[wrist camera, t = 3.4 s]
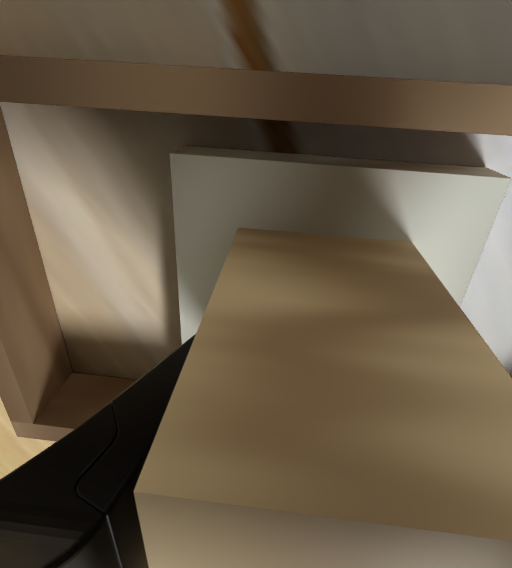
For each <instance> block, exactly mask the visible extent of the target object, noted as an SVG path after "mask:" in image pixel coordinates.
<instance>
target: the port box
mask: <svg viewBox="0 0 512 568" xmlns="http://www.w3.org/2000/svg"><path fill="white" fill-rule="evenodd" d="M0 102H15V103H30V104H45V105H60V106H75V107H90V108H105V109H119V110H134V111H149V112H164V113H179V114H194V115H209V116H224V117H239V118H254V119H269V120H284V121H299V122H314V123H329V124H343V125H358V126H373V127H388V128H403V129H418V130H433V131H448V132H463V133H478V134H493V135H508V136H512V85H497V84H480V83H463V82H446V81H429V80H412V79H395V78H378V77H361V76H344V75H327V74H310V73H293V72H276V71H260V70H243V69H226V68H209V67H192V66H175V65H158V64H141V63H124V62H107V61H90V60H73V59H56V58H39V57H22V56H5V55H0ZM170 169H171V184H172V200H173V215H174V231H175V247H176V262H177V278H178V293H179V309H180V324H181V340H182V344H183V343H185V342H186V341H187V340H188V339H190V338H191V337H192V336H193V335H195V334H196V333H197V330H198V328H199V325H200V323H201V320H202V318H203V315H204V313H205V310H206V308H207V305H208V303H209V300H210V298H211V295H212V293H213V290H214V288H215V285H216V283H217V280H218V278H219V275H220V273H221V270H222V267H223V265H224V262H225V260H226V257H227V255H228V252H229V250H230V247H231V245H232V242H233V240H234V237H235V235H236V232H237V230H238V228H248V229H260V230H272V231H283V232H295V233H307V234H318V235H330V236H342V237H354V238H365V239H377V240H389V241H401V242H412V243H413V244H414V245H415V247H416V248H417V250H418V251H419V252H420V254H421V255H422V256H423V258H424V259H425V260H426V262H427V263H428V265H429V266H430V267H431V269H432V270H433V271H434V273H435V274H436V275H437V277H438V278H439V280H440V281H441V282H442V284H443V285H444V286H445V288H446V289H447V290H448V292H449V293H450V295H451V296H452V297H453V299H454V300H455V301H456V303H457V304H458V306H459V307H460V306H461V303H462V301H463V298H464V296H465V293H466V291H467V288H468V286H469V283H470V281H471V278H472V276H473V273H474V271H475V268H476V266H477V263H478V261H479V258H480V256H481V254H482V251H483V249H484V246H485V244H486V241H487V239H488V236H489V234H490V231H491V229H492V226H493V224H494V221H495V219H496V216H497V214H498V211H499V209H500V206H501V204H502V201H503V199H504V196H505V194H506V191H507V189H508V186H509V184H510V181H511V178H509V177H507V176H505V175H502V174H500V173H498V172H496V171H493V170H491V169H489V168H483V167H469V166H455V165H441V164H428V163H414V162H400V161H386V160H372V159H358V158H345V157H331V156H317V155H303V154H289V153H276V152H262V151H248V150H234V149H220V148H206V147H193V146H182V147H180V148H178V149H176V150H175V151H173V152H171V153H170ZM136 381H137V380H133V379H124V378H115V377H106V376H97V375H88V374H80V373H72V369H71V365H70V361H69V358H68V354H67V350H66V347H65V343H64V339H63V336H62V332H61V328H60V325H59V321H58V317H57V314H56V310H55V306H54V302H53V299H52V295H51V291H50V288H49V284H48V280H47V277H46V273H45V269H44V266H43V262H42V258H41V255H40V251H39V247H38V243H37V240H36V236H35V232H34V229H33V225H32V221H31V218H30V214H29V210H28V207H27V203H26V199H25V195H24V192H23V188H22V184H21V181H20V177H19V173H18V170H17V166H16V162H15V159H14V155H13V151H12V148H11V144H10V140H9V136H8V133H7V129H6V125H5V122H4V118H3V114H2V111H1V107H0V397H1V399H2V402H3V404H4V406H5V409H6V411H7V413H8V416H9V418H10V421H11V423H12V425H13V428H14V430H15V432H16V435H17V436H18V437H26V438H34V439H42V440H50V441H58V440H60V439H61V438H63V437H64V436H66V435H67V434H69V433H70V432H71V431H73V430H74V429H75V428H77V427H78V426H79V425H81V424H82V423H83V422H85V421H86V420H87V419H89V418H90V417H91V416H93V415H94V414H95V413H96V412H98V411H99V410H100V409H101V408H103V407H104V406H105V405H107V404H108V403H111V401H112V400H113V399H114V398H116V397H117V396H118V395H119V394H121V393H122V392H123V391H124V390H126V389H127V388H128V387H129V386H131V385H132V384H133V383H134V382H136Z"/></svg>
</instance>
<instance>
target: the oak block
mask: <svg viewBox="0 0 512 568" xmlns="http://www.w3.org/2000/svg"><path fill="white" fill-rule="evenodd" d="M133 492H134V497H135V502H136V507H137V512H138V517H139V522H140V527H141V532H142V536H143V541H144V546H145V551H146V556H147V561H148V566H149V568H512V378H511V377H510V375H509V374H508V372H507V371H506V370H505V368H504V367H503V366H502V364H501V363H500V361H499V360H498V359H497V357H496V356H495V355H494V353H493V352H492V351H491V349H490V348H489V346H488V345H487V344H486V342H485V341H484V340H483V338H482V337H481V336H480V334H479V333H478V331H477V330H476V329H475V327H474V326H473V325H472V323H471V322H470V321H469V319H468V318H467V316H466V315H465V314H464V312H463V311H462V310H461V308H460V307H459V306H458V304H457V303H456V301H455V300H454V299H453V297H452V296H451V295H450V293H449V292H448V290H447V289H446V288H445V286H444V285H443V284H442V282H441V281H440V280H439V278H438V277H437V275H436V274H435V273H434V271H433V270H432V269H431V267H430V266H429V265H428V263H427V262H426V260H425V259H424V258H423V256H422V255H421V254H420V252H419V251H418V250H417V248H416V247H415V245H414V244H413V243H412V242H401V241H389V240H377V239H365V238H354V237H342V236H330V235H318V234H307V233H295V232H283V231H272V230H260V229H248V228H238V230H237V232H236V235H235V237H234V240H233V242H232V245H231V247H230V250H229V252H228V255H227V257H226V260H225V262H224V265H223V267H222V270H221V273H220V275H219V278H218V280H217V283H216V285H215V288H214V290H213V293H212V295H211V298H210V300H209V303H208V305H207V308H206V310H205V313H204V315H203V318H202V320H201V323H200V325H199V328H198V330H197V333H196V335H195V338H194V340H193V343H192V345H191V348H190V350H189V353H188V356H187V358H186V361H185V363H184V366H183V368H182V371H181V373H180V376H179V378H178V381H177V383H176V386H175V388H174V391H173V393H172V396H171V398H170V401H169V403H168V406H167V408H166V411H165V413H164V416H163V418H162V421H161V423H160V426H159V428H158V431H157V433H156V436H155V438H154V441H153V444H152V446H151V449H150V451H149V454H148V456H147V459H146V461H145V464H144V466H143V469H142V471H141V474H140V476H139V479H138V481H137V484H136V486H135V489H134V491H133Z"/></svg>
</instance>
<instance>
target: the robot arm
mask: <svg viewBox="0 0 512 568" xmlns="http://www.w3.org/2000/svg"><path fill="white" fill-rule="evenodd" d="M195 335H196V334H195ZM195 335H193V336H192V337H191V338H190V339H188V340H187V341H186V342H185V343H183V344H182V345H181V346H180V347H178V348H177V349H176V350H175V351H173V352H172V353H171V354H170V355H168V356H167V357H166V358H164V359H163V360H162V361H161V362H159V363H158V364H157V365H156V366H154V367H153V368H152V369H151V370H149V371H148V372H147V373H146V374H144V375H143V376H142V377H141V378H139V379H138V380H137V381H136V382H134V383H133V384H132V385H131V386H129V387H128V388H127V389H126V390H124V391H123V392H122V393H121V394H119V395H118V396H117V397H116V398H114V399H113V400H112V401H111V403H108V404H107V405H105V406H104V407H103V408H101V409H100V410H99V411H98V412H96V413H95V414H94V415H93V416H91V417H90V418H89V419H87V420H86V421H85V422H83V423H82V424H81V425H79V426H78V427H77V428H75V429H74V430H73V431H71V432H70V433H69V434H67V435H66V436H64V437H63V438H61V439H60V440H58V441H57V442H56V443H54V444H53V445H51V446H50V447H48V448H47V449H45V450H44V451H42V452H41V453H39V454H38V455H36V456H35V457H33V458H32V459H30V460H29V461H27V462H26V463H24V464H23V465H21V466H20V467H18V468H17V469H15V470H14V471H12V472H11V473H9V474H8V475H6V476H5V477H3V478H2V479H0V568H149V566H148V561H147V556H146V551H145V546H144V541H143V536H142V532H141V527H140V522H139V517H138V512H137V507H136V502H135V497H134V492H133V491H134V489H135V486H136V484H137V481H138V479H139V476H140V474H141V471H142V469H143V466H144V464H145V461H146V459H147V456H148V454H149V451H150V449H151V446H152V444H153V441H154V438H155V436H156V433H157V431H158V428H159V426H160V423H161V421H162V418H163V416H164V413H165V411H166V408H167V406H168V403H169V401H170V398H171V396H172V393H173V391H174V388H175V386H176V383H177V381H178V378H179V376H180V373H181V371H182V368H183V366H184V363H185V361H186V358H187V356H188V353H189V350H190V348H191V345H192V343H193V340H194V338H195Z"/></svg>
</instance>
